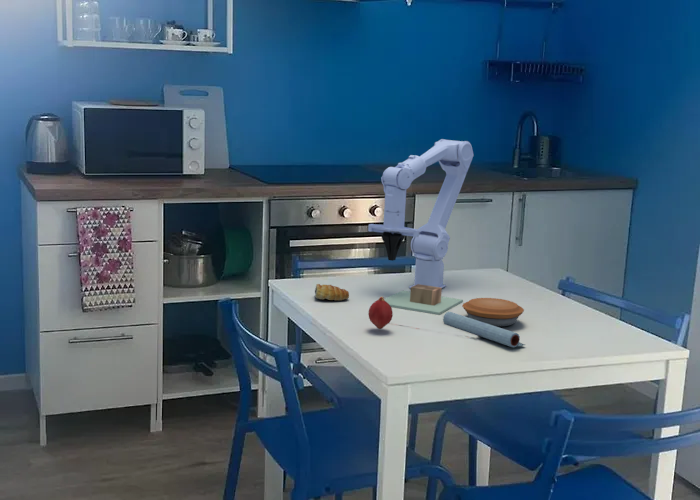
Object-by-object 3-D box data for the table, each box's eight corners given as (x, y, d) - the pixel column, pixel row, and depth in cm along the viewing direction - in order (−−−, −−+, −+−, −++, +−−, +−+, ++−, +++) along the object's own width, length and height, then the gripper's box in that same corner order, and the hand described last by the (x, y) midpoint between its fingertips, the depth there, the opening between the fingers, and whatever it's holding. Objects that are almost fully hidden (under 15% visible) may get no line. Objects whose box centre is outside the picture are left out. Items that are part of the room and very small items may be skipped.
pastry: (347, 297, 243) (348, 283, 243) (350, 302, 236) (351, 288, 236) (313, 295, 242) (314, 281, 241) (315, 300, 235) (315, 286, 235)
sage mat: (402, 292, 253) (403, 290, 252) (462, 301, 245) (463, 299, 245) (376, 304, 237) (376, 302, 236) (439, 314, 229) (439, 312, 229)
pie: (524, 316, 231) (525, 298, 231) (520, 331, 217) (522, 311, 216) (465, 310, 235) (466, 292, 234) (457, 324, 220) (459, 305, 219)
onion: (364, 326, 214) (365, 293, 213) (385, 325, 216) (387, 293, 215) (373, 332, 209) (374, 299, 207) (395, 331, 211) (397, 298, 209)
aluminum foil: (442, 325, 220) (442, 312, 220) (461, 322, 224) (462, 309, 224) (509, 348, 203) (510, 334, 202) (529, 344, 207) (530, 330, 206)
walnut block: (417, 284, 243) (441, 287, 240) (416, 298, 244) (440, 302, 240) (410, 287, 238) (435, 290, 235) (409, 301, 239) (434, 305, 236)
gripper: (364, 209, 242) (362, 258, 245) (413, 215, 236) (410, 265, 238) (375, 207, 248) (372, 255, 251) (423, 212, 242) (420, 261, 244)
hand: (391, 259), depth 245 cm, fingers closed
